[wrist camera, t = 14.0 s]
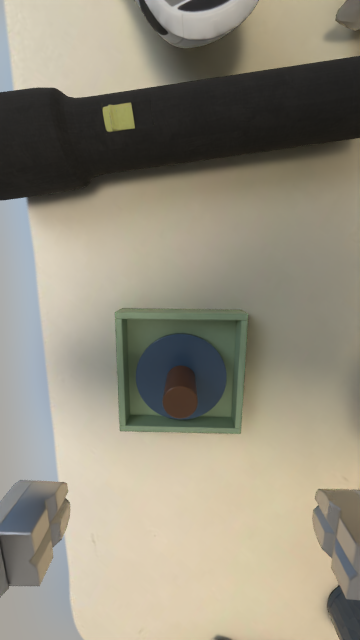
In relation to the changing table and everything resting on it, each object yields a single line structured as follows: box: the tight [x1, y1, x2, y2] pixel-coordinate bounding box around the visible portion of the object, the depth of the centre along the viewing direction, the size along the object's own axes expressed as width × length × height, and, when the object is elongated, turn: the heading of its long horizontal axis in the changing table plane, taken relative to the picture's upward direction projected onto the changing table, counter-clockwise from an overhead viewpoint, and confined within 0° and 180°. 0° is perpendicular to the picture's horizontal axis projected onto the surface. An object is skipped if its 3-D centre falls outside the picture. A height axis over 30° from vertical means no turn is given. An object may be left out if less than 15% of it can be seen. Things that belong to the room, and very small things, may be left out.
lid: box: [136, 333, 227, 420], centre depth 17 cm, size 7×7×5 cm
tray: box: [115, 308, 248, 434], centre depth 18 cm, size 10×10×2 cm
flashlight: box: [0, 56, 360, 200], centre depth 14 cm, size 5×24×5 cm, turn 97°
